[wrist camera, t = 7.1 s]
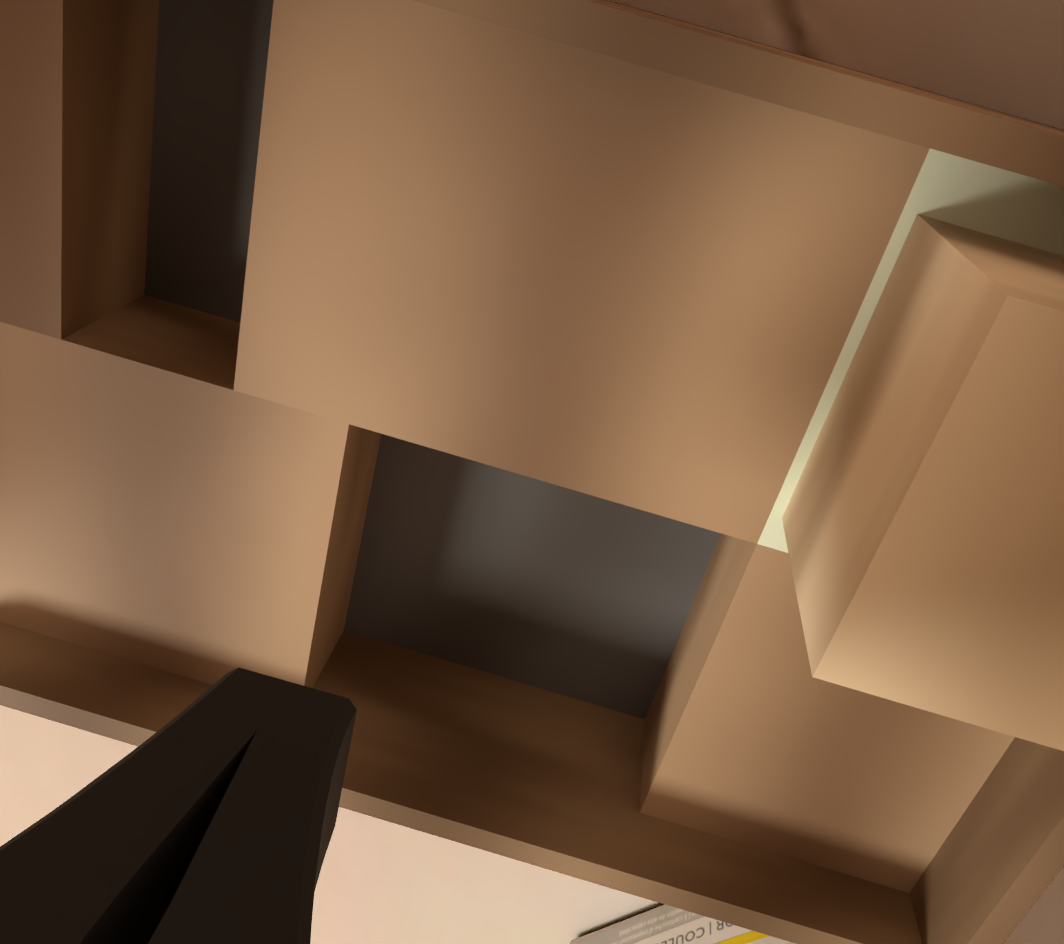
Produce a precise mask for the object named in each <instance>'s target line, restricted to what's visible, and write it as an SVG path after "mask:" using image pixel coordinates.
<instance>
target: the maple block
mask: <svg viewBox="0 0 1064 944" xmlns="http://www.w3.org/2000/svg"><path fill="white" fill-rule="evenodd" d="M782 522H783V527H784V532H785V537H786V543H787V548H788V553H789V558H790V564H791V569H792V574H793V579H794V584H795V590H796V595H797V600H798V605H799V611H800V616H801V621H802V626H803V631H804V637H805V642H806V647H807V652H808V658H809V663H810V668H811V673H812V677H814V678H817V679H821V680H824V681H827V682H831V683H834V684H838V685H841V686H844V687H848V688H851V689H854V690H858V691H861V692H865V693H868V694H871V695H875V696H878V697H882V698H885V699H888V700H892V701H895V702H899V703H902V704H905V705H909V706H912V707H915V708H919V709H922V710H926V711H929V712H932V713H936V714H939V715H943V716H946V717H949V718H953V719H956V720H959V721H963V722H966V723H970V724H973V725H976V726H980V727H983V728H987V729H990V730H993V731H997V732H1000V733H1004V734H1007V735H1010V736H1014V737H1017V738H1020V739H1024V740H1027V741H1031V742H1034V743H1037V744H1041V745H1044V746H1048V747H1051V748H1054V749H1058V750H1061V751H1064V256H1062V255H1058V254H1055V253H1051V252H1048V251H1044V250H1041V249H1037V248H1034V247H1030V246H1027V245H1023V244H1020V243H1016V242H1013V241H1009V240H1006V239H1002V238H999V237H995V236H992V235H988V234H985V233H982V232H978V231H975V230H971V229H968V228H964V227H961V226H957V225H954V224H950V223H947V222H943V221H940V220H936V219H933V218H929V217H926V216H922V215H919V214H917V215H916V218H915V220H914V222H913V224H912V227H911V229H910V231H909V233H908V236H907V238H906V240H905V242H904V245H903V247H902V249H901V251H900V253H899V256H898V258H897V260H896V262H895V265H894V267H893V269H892V271H891V274H890V276H889V278H888V280H887V283H886V285H885V287H884V289H883V292H882V294H881V296H880V298H879V301H878V303H877V305H876V307H875V310H874V312H873V314H872V316H871V319H870V321H869V323H868V325H867V328H866V330H865V332H864V334H863V337H862V339H861V341H860V343H859V346H858V348H857V350H856V352H855V355H854V357H853V359H852V361H851V364H850V366H849V368H848V370H847V373H846V375H845V377H844V379H843V382H842V384H841V386H840V388H839V391H838V393H837V395H836V397H835V400H834V402H833V404H832V406H831V409H830V411H829V413H828V415H827V418H826V420H825V422H824V424H823V427H822V429H821V431H820V433H819V436H818V438H817V440H816V442H815V445H814V447H813V449H812V451H811V454H810V456H809V458H808V460H807V463H806V465H805V467H804V469H803V472H802V474H801V476H800V478H799V481H798V483H797V485H796V487H795V490H794V492H793V494H792V496H791V499H790V501H789V503H788V505H787V508H786V510H785V512H784V514H783V517H782Z"/></svg>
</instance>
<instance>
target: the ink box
mask: <svg viewBox="0 0 1064 944" xmlns="http://www.w3.org/2000/svg"><path fill="white" fill-rule="evenodd" d="M569 944H796V943H792V942H789V941H786V940H782V939H779V938H776V937H772V936H769V935H766V934H762V933H759V932H756V931H752V930H749V929H746V928H742V927H739V926H736V925H732V924H729V923H726V922H722V921H719V920H716V919H712V918H709V917H706V916H702V915H699V914H696V913H692V912H689V911H686V910H682V909H679V908H676V907H672V906H669V905H666V904H664V905H662V906H659V907H657V908H654V909H652V910H649V911H646V912H644V913H641V914H639V915H636V916H634V917H631V918H629V919H626V920H624V921H621V922H618V923H616V924H613V925H610V926H608V927H605V928H603V929H600V930H598V931H595V932H592V933H589V934H587V935H584V936H581V937H579V938H576V939H574V940H572V941H571V942H570V943H569Z"/></svg>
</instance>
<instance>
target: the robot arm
mask: <svg viewBox="0 0 1064 944" xmlns="http://www.w3.org/2000/svg"><path fill="white" fill-rule="evenodd" d="M356 713H357V709H356V708H355V706H354V705H353V703H352V702H351V701H350V699H349V698H346V697H342V696H338V695H335V694H331V693H328V692H324V691H321V690H317V689H314V688H310V687H307V686H303V685H300V684H296V683H292V682H289V681H285V680H282V679H278V678H275V677H271V676H268V675H264V674H261V673H257V672H253V671H250V670H246V669H243V668H239V667H238V668H236V669H234V670H232V671H230V672H228V673H227V674H225V675H224V676H223V677H222V678H221V679H220V680H218V681H217V682H216V683H215V684H214V685H213V686H212V687H210V688H209V689H208V690H207V691H206V692H205V693H203V694H202V695H201V696H200V697H199V698H197V699H196V700H195V701H194V702H193V703H192V704H190V705H189V706H188V707H187V708H186V709H184V710H183V711H182V712H181V713H180V714H178V715H177V716H176V717H175V718H173V719H172V720H171V721H170V722H169V723H167V724H166V725H165V726H164V727H162V728H161V729H160V730H159V731H157V732H156V733H155V734H154V735H152V736H151V737H150V738H149V739H147V740H146V741H145V742H143V743H142V744H141V745H140V746H138V747H137V748H136V749H135V750H133V751H132V752H131V753H130V754H128V755H127V756H126V757H124V758H123V759H122V760H120V761H119V762H118V763H116V764H115V765H114V766H112V767H111V768H110V769H108V770H107V771H106V772H104V773H103V774H102V775H100V776H99V777H98V778H96V779H95V780H94V781H92V782H91V783H90V784H88V785H87V786H86V787H84V788H83V789H82V790H80V791H79V792H78V793H76V794H75V795H74V796H72V797H71V798H70V799H68V800H67V801H66V802H64V803H63V804H62V805H60V806H59V807H57V808H56V809H55V810H53V811H52V812H50V813H49V814H48V815H46V816H45V817H43V818H42V819H40V820H39V821H37V822H36V823H34V824H33V825H31V826H30V827H29V828H27V829H26V830H24V831H23V832H21V833H20V834H18V835H17V836H15V837H14V838H12V839H11V840H10V841H8V842H7V843H5V844H4V845H2V846H1V847H0V944H310V937H311V922H312V910H313V899H314V891H315V887H316V884H317V880H318V877H319V873H320V870H321V866H322V863H323V860H324V857H325V854H326V851H327V848H328V845H329V842H330V839H331V836H332V833H333V830H334V827H335V823H336V818H337V812H338V807H339V802H340V797H341V791H342V786H343V781H344V776H345V770H346V765H347V760H348V755H349V749H350V744H351V739H352V734H353V728H354V723H355V718H356Z"/></svg>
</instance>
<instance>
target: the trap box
mask: <svg viewBox="0 0 1064 944" xmlns="http://www.w3.org/2000/svg"><path fill="white" fill-rule="evenodd" d="M917 214H919V215H922V216H926V217H929V218H933V219H936V220H940V221H943V222H947V223H950V224H954V225H957V226H961V227H964V228H968V229H971V230H975V231H978V232H982V233H985V234H988V235H992V236H995V237H999V238H1002V239H1006V240H1009V241H1013V242H1016V243H1020V244H1023V245H1027V246H1030V247H1034V248H1037V249H1041V250H1044V251H1048V252H1051V253H1055V254H1058V255H1062V256H1064V130H1061V129H1057V128H1054V127H1050V126H1047V125H1043V124H1040V123H1036V122H1033V121H1029V120H1026V119H1022V118H1019V117H1015V116H1012V115H1008V114H1005V113H1001V112H998V111H994V110H991V109H987V108H984V107H980V106H977V105H973V104H970V103H966V102H963V101H959V100H956V99H952V98H949V97H945V96H942V95H938V94H935V93H931V92H928V91H924V90H921V89H917V88H914V87H910V86H907V85H903V84H900V83H896V82H893V81H889V80H886V79H882V78H879V77H875V76H872V75H868V74H865V73H861V72H858V71H854V70H851V69H847V68H844V67H840V66H836V65H833V64H829V63H826V62H822V61H819V60H815V59H812V58H808V57H805V56H801V55H798V54H794V53H791V52H787V51H784V50H780V49H777V48H773V47H770V46H766V45H763V44H759V43H756V42H752V41H749V40H745V39H742V38H738V37H735V36H731V35H728V34H724V33H721V32H717V31H714V30H710V29H707V28H703V27H700V26H696V25H693V24H689V23H686V22H682V21H679V20H675V19H672V18H668V17H665V16H661V15H658V14H654V13H651V12H647V11H644V10H640V9H637V8H633V7H630V6H626V5H623V4H619V3H616V2H612V1H609V0H0V705H2V706H6V707H9V708H12V709H16V710H19V711H22V712H26V713H29V714H32V715H36V716H39V717H42V718H46V719H49V720H52V721H56V722H59V723H62V724H66V725H69V726H72V727H76V728H79V729H82V730H86V731H89V732H92V733H96V734H99V735H102V736H106V737H109V738H112V739H116V740H119V741H122V742H126V743H129V744H132V745H136V746H140V745H141V744H142V743H143V742H145V741H146V740H147V739H149V738H150V737H151V736H152V735H154V734H155V733H156V732H157V731H159V730H160V729H161V728H162V727H164V726H165V725H166V724H167V723H169V722H170V721H171V720H172V719H173V718H175V717H176V716H177V715H178V714H180V713H181V712H182V711H183V710H184V709H186V708H187V707H188V706H189V705H190V704H192V703H193V702H194V701H195V700H196V699H197V698H199V697H200V696H201V695H202V694H203V693H205V692H206V691H207V690H208V689H209V688H210V687H212V686H213V685H214V684H215V683H216V682H217V681H218V680H220V679H221V678H222V677H223V676H224V675H225V674H227V673H228V672H230V671H232V670H234V669H236V668H238V667H239V668H243V669H246V670H250V671H253V672H257V673H261V674H264V675H268V676H271V677H275V678H278V679H282V680H285V681H289V682H292V683H296V684H300V685H303V686H307V687H310V688H314V689H317V690H321V691H324V692H328V693H331V694H335V695H338V696H342V697H346V698H349V699H350V701H351V702H352V703H353V705H354V706H355V708H356V709H357V713H356V718H355V723H354V728H353V734H352V739H351V744H350V749H349V755H348V760H347V765H346V770H345V776H344V781H343V786H342V791H341V797H340V802H339V807H342V808H346V809H349V810H352V811H356V812H359V813H362V814H366V815H369V816H372V817H376V818H379V819H382V820H386V821H389V822H392V823H396V824H399V825H402V826H406V827H409V828H412V829H416V830H419V831H422V832H426V833H429V834H432V835H436V836H439V837H442V838H446V839H449V840H452V841H456V842H459V843H462V844H466V845H469V846H472V847H476V848H479V849H482V850H486V851H489V852H492V853H496V854H499V855H502V856H506V857H509V858H512V859H516V860H519V861H522V862H526V863H529V864H532V865H536V866H539V867H542V868H546V869H549V870H552V871H556V872H559V873H562V874H566V875H569V876H572V877H576V878H579V879H582V880H586V881H589V882H592V883H596V884H599V885H602V886H606V887H609V888H612V889H616V890H619V891H622V892H626V893H629V894H632V895H636V896H639V897H642V898H646V899H649V900H652V901H656V902H659V903H662V904H666V905H669V906H672V907H676V908H679V909H682V910H686V911H689V912H692V913H696V914H699V915H702V916H706V917H709V918H712V919H716V920H719V921H722V922H726V923H729V924H732V925H736V926H739V927H742V928H746V929H749V930H752V931H756V932H759V933H762V934H766V935H769V936H772V937H776V938H779V939H782V940H786V941H789V942H792V943H796V944H1003V943H1004V941H1005V940H1006V939H1007V938H1008V936H1009V935H1010V934H1011V932H1012V931H1013V930H1014V929H1015V927H1016V926H1017V925H1018V923H1019V922H1020V921H1021V920H1022V918H1023V917H1024V916H1025V915H1026V913H1027V912H1028V911H1029V909H1030V908H1031V907H1032V906H1033V904H1034V903H1035V902H1036V900H1037V899H1038V898H1039V897H1040V895H1041V894H1042V893H1043V892H1044V890H1045V889H1046V888H1047V886H1048V885H1049V884H1050V883H1051V881H1052V880H1053V879H1054V877H1055V876H1056V875H1057V874H1058V872H1059V871H1060V870H1061V869H1062V867H1063V866H1064V751H1061V750H1058V749H1054V748H1051V747H1048V746H1044V745H1041V744H1037V743H1034V742H1031V741H1027V740H1024V739H1020V738H1017V737H1014V736H1010V735H1007V734H1004V733H1000V732H997V731H993V730H990V729H987V728H983V727H980V726H976V725H973V724H970V723H966V722H963V721H959V720H956V719H953V718H949V717H946V716H943V715H939V714H936V713H932V712H929V711H926V710H922V709H919V708H915V707H912V706H909V705H905V704H902V703H899V702H895V701H892V700H888V699H885V698H882V697H878V696H875V695H871V694H868V693H865V692H861V691H858V690H854V689H851V688H848V687H844V686H841V685H838V684H834V683H831V682H827V681H824V680H821V679H817V678H814V677H812V673H811V668H810V663H809V658H808V652H807V647H806V642H805V637H804V631H803V626H802V621H801V616H800V611H799V605H798V600H797V595H796V590H795V584H794V579H793V574H792V569H791V564H790V558H789V553H788V548H787V543H786V537H785V532H784V527H783V522H782V517H783V514H784V512H785V510H786V508H787V505H788V503H789V501H790V499H791V496H792V494H793V492H794V490H795V487H796V485H797V483H798V481H799V478H800V476H801V474H802V472H803V469H804V467H805V465H806V463H807V460H808V458H809V456H810V454H811V451H812V449H813V447H814V445H815V442H816V440H817V438H818V436H819V433H820V431H821V429H822V427H823V424H824V422H825V420H826V418H827V415H828V413H829V411H830V409H831V406H832V404H833V402H834V400H835V397H836V395H837V393H838V391H839V388H840V386H841V384H842V382H843V379H844V377H845V375H846V373H847V370H848V368H849V366H850V364H851V361H852V359H853V357H854V355H855V352H856V350H857V348H858V346H859V343H860V341H861V339H862V337H863V334H864V332H865V330H866V328H867V325H868V323H869V321H870V319H871V316H872V314H873V312H874V310H875V307H876V305H877V303H878V301H879V298H880V296H881V294H882V292H883V289H884V287H885V285H886V283H887V280H888V278H889V276H890V274H891V271H892V269H893V267H894V265H895V262H896V260H897V258H898V256H899V253H900V251H901V249H902V247H903V245H904V242H905V240H906V238H907V236H908V233H909V231H910V229H911V227H912V224H913V222H914V220H915V218H916V215H917Z"/></svg>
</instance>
